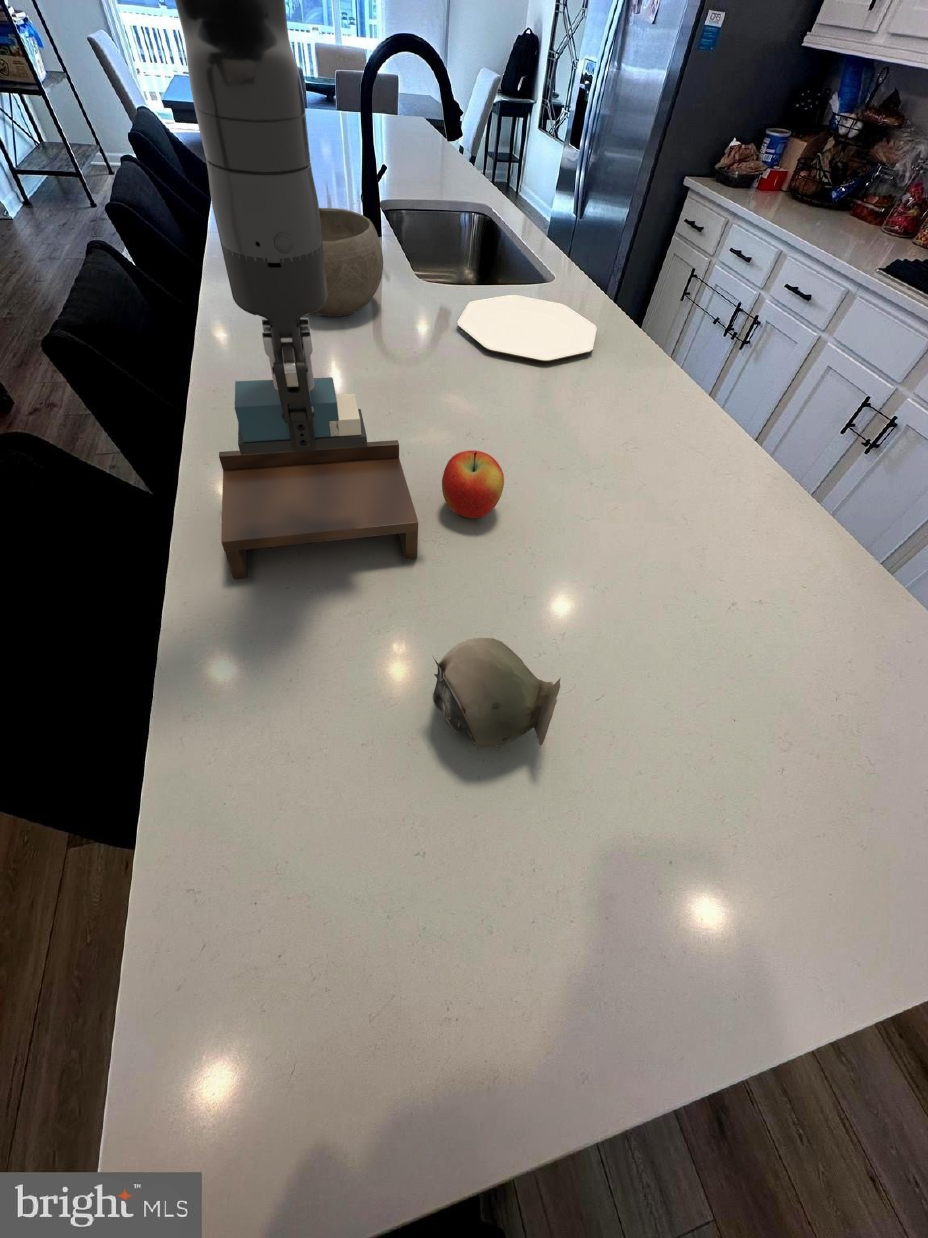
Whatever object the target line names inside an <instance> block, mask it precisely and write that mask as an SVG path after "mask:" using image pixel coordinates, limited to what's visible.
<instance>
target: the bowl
mask: <svg viewBox="0 0 928 1238" xmlns="http://www.w3.org/2000/svg"><path fill="white" fill-rule="evenodd" d="M319 213H320V223H321V233H322V243H323V253H324V263H325V273H326V283H327V293H328V297H327V301H326V303H325V305H324V306H323V307H322V308H321V309H320V310H318V311H317V312H315V313H314V314H317V315H320V316H323V317H332V318H333V317H344V316H349V315H352V314H354V313H357V312H359V311H360V310H362V309H363V308H364V307H366V306H367V305H368V304H369V302H370V301H371V300H372V299H373V297H374V296H375V294H376V293H377V291H378V289H379V287H380V284H381V281H382V278H383V271H384V255H383V251H382V246H381V242H380V239H379V235H378V232H377V229H376V228H375V225H374V224H373V222H372V221H371V219H370V218H369V217H367V216H364V215H363V214H361V213H358V212H355V211H352V210H348V209H344V208H337V207H335V208H334V207H331V208H330V207H329V208H328V207H319Z"/></svg>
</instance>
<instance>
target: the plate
mask: <svg viewBox="0 0 928 1238" xmlns="http://www.w3.org/2000/svg"><path fill="white" fill-rule="evenodd" d="M456 324H457V327H458V328H460V330H462V331H463V332H464V333H466V334H467V335H468V336H469V337H470V338H472V339H473V340H474V341H475V342H476V343H477V344H479V345H480V346H481V347H482V348H484V350H487V351H489V352H493V353H497V354H502V355H507V356H512V357H516V358H521V359H527V360H531V361H537V362H541V363H544V362H545V363H547V362H548V363H549V362H555V361H558V360H563V359H566V358H571V357H576V356H580V355H584V354H589V353H591V352H592V351H594V347H595V346H594V345H595V340H596V335H597V331H598V328H597V326H596V325H595V323H593V322H592V321H590V320H589V319H587V318H586V317H584V316H582V315H581V314H579V313H578V312H576V311H575V310H574V309H572V308H570V307H569V306H567V305H566V304H563V303H559V302H555V301H549V300H544V299H540V298H534V297H528V296H524V295H518V294H508V295H507V294H506V295H501V296H495V297H489V298H483V299H476V300H472V301H470V302H467V304H466V306H465V307H464V310H463V312H462V313H461V315H460V317H459V318H458V319H457V322H456Z"/></svg>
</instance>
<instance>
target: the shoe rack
mask: <svg viewBox="0 0 928 1238" xmlns="http://www.w3.org/2000/svg"><path fill="white" fill-rule="evenodd" d="M218 459H219V462H220V465H221V469H222V494H221V497H222V498H221V502H222V503H221V538H220V540H221V545H222V548H223V551H224V554H225V557H226V561H227V563H228V566H229V569H230V572H231V575H232V579H234V580H239V579H246V578H248V554H247V553H248V552H247V551H248V550H254V549H263V548H264V549H265V548H275V547H283V546H291V545H301V544H303V545H304V544H312V543H323V542H332V541H342V540H351V539H361V538H370V537H371V538H372V537H380V536H389V535H398V536H399V539H400V543H401V547H402V552H403V555H404V559H405V560H406V561H407V560H415V559H418V546H419V545H418V544H419V543H418V542H419V541H418V540H419V521H418V517H417V513H416V510H415V507H414V503H413V500H412V496H411V492H410V490H409V487H408V483H407V479H406V476H405V473H404V469H403V466H402V463H401V459H400V442H399V440H398V439H393V440H392V439H391V440H377V441H367V446H366V447H351V448H336V449H321V450H314V451H307V452H295V451H291V452H276V453H261V454H246V455H241V454H240V450H229V451H228V450H226V451H218Z"/></svg>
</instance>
